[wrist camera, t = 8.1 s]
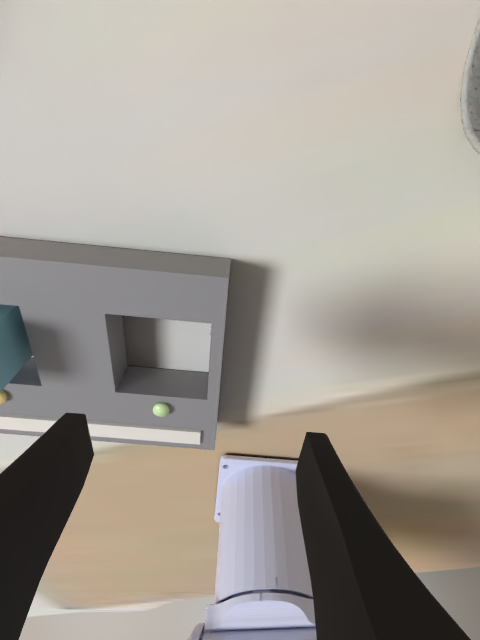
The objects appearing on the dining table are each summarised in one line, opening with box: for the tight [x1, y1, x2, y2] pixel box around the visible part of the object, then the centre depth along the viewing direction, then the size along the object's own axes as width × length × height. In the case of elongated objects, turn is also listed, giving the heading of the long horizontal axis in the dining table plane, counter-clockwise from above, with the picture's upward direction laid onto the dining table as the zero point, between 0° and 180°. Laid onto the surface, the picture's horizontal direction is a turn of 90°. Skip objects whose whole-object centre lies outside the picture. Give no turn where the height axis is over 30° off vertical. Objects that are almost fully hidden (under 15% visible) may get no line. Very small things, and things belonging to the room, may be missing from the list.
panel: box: [0, 237, 231, 450], centre depth 21 cm, size 13×17×3 cm
